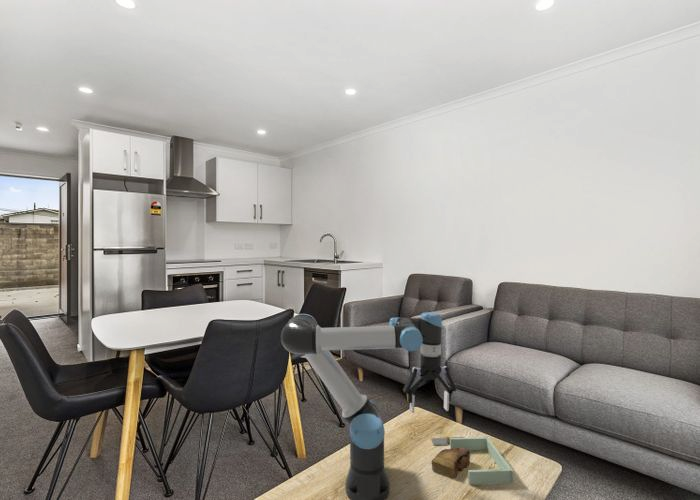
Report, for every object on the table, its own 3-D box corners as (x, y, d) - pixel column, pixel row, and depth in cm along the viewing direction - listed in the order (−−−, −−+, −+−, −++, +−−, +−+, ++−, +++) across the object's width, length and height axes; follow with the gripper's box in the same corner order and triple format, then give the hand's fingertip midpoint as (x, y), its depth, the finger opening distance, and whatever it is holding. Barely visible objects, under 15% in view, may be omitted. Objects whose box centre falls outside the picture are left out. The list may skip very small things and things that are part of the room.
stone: (451, 481, 128) (451, 466, 128) (429, 469, 134) (429, 455, 134) (472, 463, 138) (472, 450, 138) (450, 453, 145) (450, 441, 145)
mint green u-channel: (469, 484, 125) (469, 471, 125) (450, 448, 147) (450, 438, 147) (513, 483, 126) (513, 470, 126) (487, 448, 148) (487, 437, 148)
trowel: (433, 445, 150) (433, 441, 150) (431, 439, 154) (431, 436, 154) (467, 444, 150) (467, 440, 150) (463, 438, 155) (463, 435, 155)
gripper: (401, 358, 130) (400, 416, 130) (466, 356, 134) (464, 413, 134) (395, 352, 137) (394, 407, 138) (457, 350, 142) (455, 404, 142)
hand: (429, 410), depth 136 cm, fingers open, 13 cm apart
